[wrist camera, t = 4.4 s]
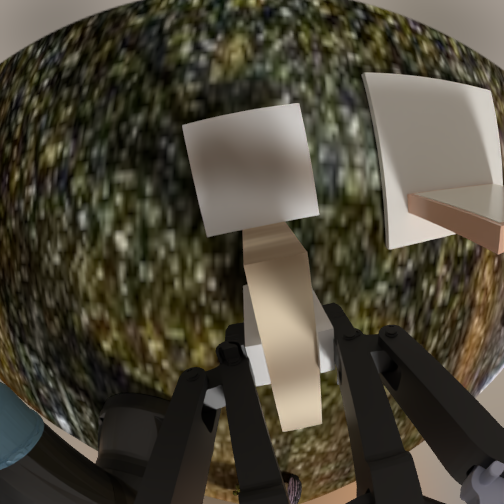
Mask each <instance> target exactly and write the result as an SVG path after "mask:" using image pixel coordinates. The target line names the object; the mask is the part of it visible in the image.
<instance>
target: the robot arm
mask: <svg viewBox="0 0 504 504" xmlns="http://www.w3.org/2000/svg"><path fill="white" fill-rule="evenodd" d="M312 294H313V304H314V313H315V323H316V337H317V349H318V362H319V369H320V372H321V373H323V372H327V371H330V370H334V369H335V364H336V366H337V385H340V390H341V394H342V399H343V404H344V410H345V415H346V420H347V426H348V431H349V437H350V443H351V449H352V455H353V462H354V468H355V475H356V483H357V498H355V499H353V500H351V501H350V502H348V503H346V504H445V503H442V502H439V501H437V500H434V499H431V498H428V497H426V496H423V495H422V491H421V487H420V483H419V479H418V475H417V471H416V468H415V465H414V461H413V458H412V455H411V454H410V452H408V451H405V450H404V447H403V444H402V441H401V438H400V434H399V431H398V428H397V425H396V422H395V419H394V416H393V413H392V410H391V407H390V404H389V401H388V398H387V395H386V392H385V390H384V387H383V384H384V386H385V387H386V388H387V390H388V391H389V392H390V394H391V395H392V396H393V397H394V399H395V400H396V401H397V403H398V404H399V405H400V407H401V408H402V410H403V411H404V412H405V414H406V415H407V416H408V418H409V419H410V420H411V422H412V423H413V424H414V426H415V427H416V428H417V430H418V431H419V433H420V434H421V435H422V437H423V438H424V439H425V441H426V442H427V444H428V445H429V446H430V447H431V449H432V451H433V452H434V453H435V455H436V456H437V458H438V459H439V460H440V462H441V463H442V465H443V466H444V467H445V469H446V470H447V471H448V473H449V474H450V475H451V476H452V477H453V478H454V479H455V480H456V481H457V482H458V483H459V484H461V485H462V487H461V494H460V498H461V499H462V500H464V501H465V502H466V503H467V504H504V428H503V427H502V426H501V425H500V424H499V423H498V422H497V421H496V420H495V419H494V418H493V417H492V416H491V415H490V413H489V412H488V411H487V410H486V409H485V408H484V407H483V406H482V405H481V404H480V403H479V402H478V401H477V400H476V399H475V398H474V397H473V396H472V395H471V394H470V393H469V392H468V391H467V390H466V389H465V388H464V387H463V386H462V385H461V384H460V383H459V382H458V381H457V380H456V379H455V378H454V377H453V376H452V375H451V374H450V373H449V372H448V371H447V370H446V369H445V368H444V367H443V366H442V365H441V364H440V363H439V362H438V361H437V360H436V359H435V358H434V357H433V356H432V355H431V354H430V353H428V352H427V351H426V350H425V349H424V348H423V347H422V346H421V345H420V344H419V343H418V342H417V341H416V340H415V339H413V338H412V337H411V336H410V335H409V334H408V333H407V332H406V331H405V330H404V329H403V328H401V327H400V326H397V325H387V326H384V327H382V328H381V329H380V331H379V334H375V335H365V334H363V333H362V332H361V331H360V330H358V329H356V328H354V327H353V326H352V324H351V322H350V321H349V319H348V318H347V316H346V315H345V313H344V312H343V310H342V308H341V307H340V306H339V305H337V304H335V303H330V304H326V305H321V304H320V302H319V300H318V298H317V296H316V294H315V293H314V291H313V289H312ZM243 300H244V322H243V323H237V324H232V325H229V326H228V328H227V329H226V334H225V341H224V342H222V343H221V344H219V345H218V347H217V348H216V354H217V357H218V360H219V362H220V365H219V366H218V367H216V368H214V369H212V370H209V371H206V372H205V371H204V369H202V368H199V367H193V368H189V369H187V370H185V371H184V372H183V373H182V374H181V376H180V378H179V380H178V383H177V385H176V388H175V391H174V393H173V396H172V399H171V401H170V402H169V401H166V400H163V399H160V398H157V397H153V396H148V395H143V394H134V393H124V394H117V395H114V396H112V397H110V398H109V399H107V400H106V402H105V404H104V406H103V408H102V410H101V412H100V415H99V432H98V458H97V461H96V463H93V462H92V461H90V460H89V459H88V458H86V457H85V456H84V455H82V454H81V453H79V452H78V451H77V450H76V449H74V448H73V447H72V446H71V445H69V444H68V443H67V442H66V441H65V440H63V439H62V438H61V437H60V436H59V435H58V434H56V433H55V432H54V431H53V430H52V429H51V428H50V427H49V426H48V425H46V424H45V423H44V422H43V420H42V418H41V417H40V415H39V414H38V413H37V412H35V411H34V410H32V409H30V408H29V407H28V406H27V405H26V404H25V403H24V402H23V401H22V400H21V399H20V398H19V397H18V396H17V395H16V394H15V393H14V392H13V391H12V390H11V389H10V388H9V387H8V386H6V385H5V384H3V383H2V382H0V504H202V503H203V498H204V493H205V488H206V483H207V478H208V473H209V467H210V462H211V457H212V455H213V451H214V442H215V437H216V431H217V426H218V421H219V416H220V411H221V407H224V406H226V411H227V417H228V424H229V430H230V436H231V442H232V448H233V454H234V460H235V466H236V471H237V477H238V482H239V487H240V492H239V496H238V498H239V504H291V503H290V500H289V497H288V494H287V491H286V487H285V484H284V481H283V478H282V475H281V472H280V468H279V465H278V462H277V459H276V455H275V452H274V449H273V445H272V442H271V439H270V435H269V432H268V428H267V425H266V422H265V418H264V415H263V411H262V408H261V404H260V401H259V397H258V393H257V390H256V387H255V384H256V386H261V385H267V384H271V380H270V375H269V371H268V366H267V362H266V358H265V354H264V349H263V345H262V341H261V338H260V335H259V330H258V326H257V322H256V317H255V313H254V309H253V304H252V300H251V296H250V291H249V287H248V285H243ZM382 383H383V384H382Z"/></svg>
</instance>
